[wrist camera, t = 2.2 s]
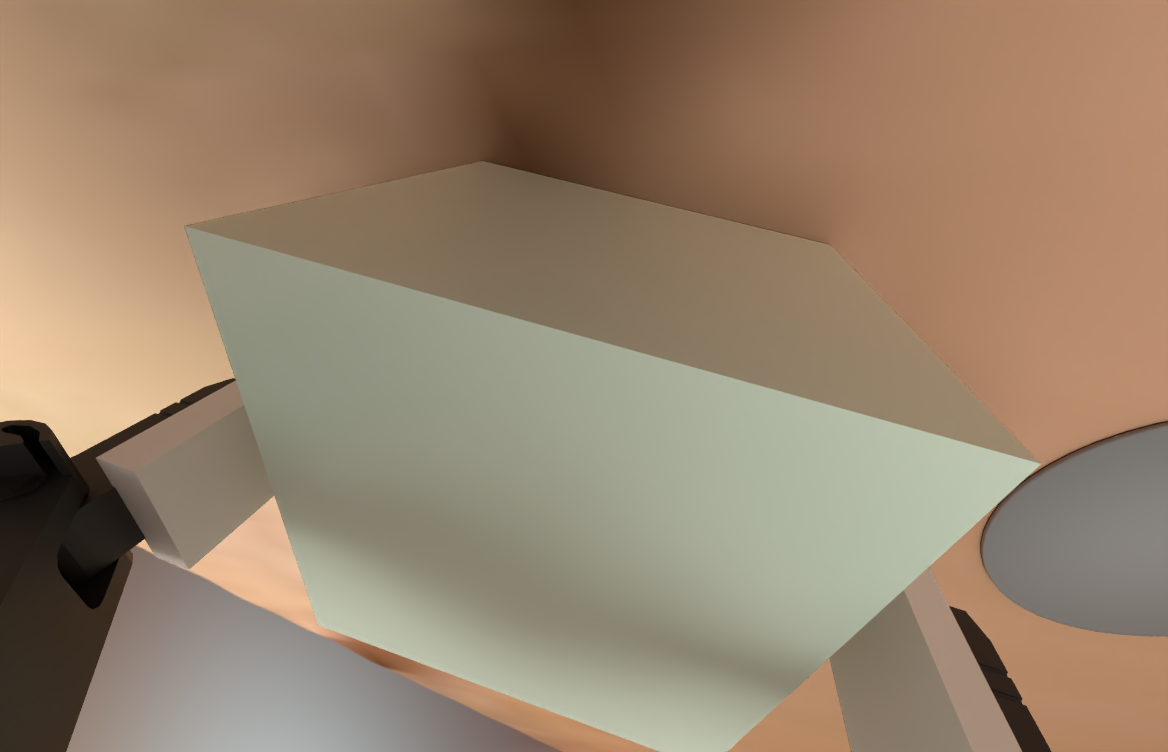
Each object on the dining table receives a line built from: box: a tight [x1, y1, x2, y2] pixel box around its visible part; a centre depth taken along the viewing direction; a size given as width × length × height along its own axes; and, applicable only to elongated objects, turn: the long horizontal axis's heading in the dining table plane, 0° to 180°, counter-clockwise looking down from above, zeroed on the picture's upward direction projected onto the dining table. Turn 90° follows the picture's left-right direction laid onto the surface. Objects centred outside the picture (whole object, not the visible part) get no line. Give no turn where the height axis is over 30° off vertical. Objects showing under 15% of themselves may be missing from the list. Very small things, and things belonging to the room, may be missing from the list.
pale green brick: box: [184, 161, 1041, 752], centre depth 11 cm, size 10×10×9 cm
